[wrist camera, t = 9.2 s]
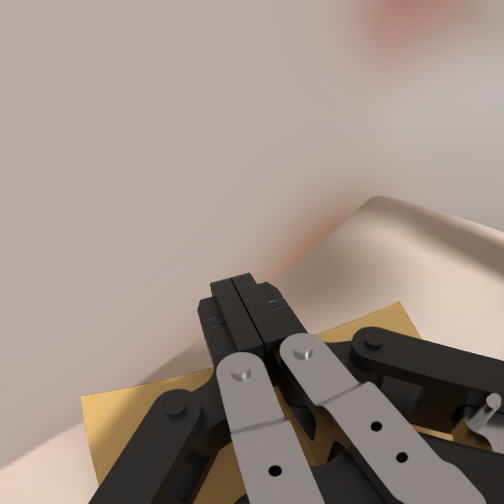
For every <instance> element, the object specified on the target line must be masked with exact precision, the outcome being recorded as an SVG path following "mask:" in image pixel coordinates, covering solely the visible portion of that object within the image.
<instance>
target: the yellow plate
mask: <svg viewBox="0 0 504 504" xmlns="http://www.w3.org/2000/svg"><path fill="white" fill-rule="evenodd" d="M370 326H374V327H380V328H383V329H387V330H390V331H394V332H397V333H401V334H404V335H408V336H411V337H415V338H418V339H421V337H420V335H419V334H418V332H417V330H416V328H415V327H414V325H413V323H412V322H411V320H410V318H409V317H408V315H407V313H406V312H405V310H404V308H403V307H402V305H401V303H400V302H397V303H395V304H392V305H390V306H388V307H385V308H383V309H380V310H378V311H376V312H373V313H371V314H368V315H366V316H363V317H361V318H359V319H356V320H353V321H351V322H348V323H346V324H343V325H341V326H338V327H335V328H333V329H330V330H327V331H325V332H322V333H319V334H316V335H315V336H317V337H319V338H320V339H321V340H322V341H323V342H342V341H351V340H352V338H353V335H354V334H355V333H356V332H357V331H358V330H359V329H361V328H364V327H370ZM213 371H214V367H213V368H209V369H205V370H202V371H198V372H194V373H190V374H186V375H182V376H178V377H174V378H170V379H166V380H162V381H157V382H153V383H148V384H144V385H139V386H134V387H130V388H125V389H120V390H115V391H110V392H104V393H98V394H92V395H87V396H81V403H82V409H83V415H84V421H85V427H86V432H87V437H88V442H89V447H90V452H91V456H92V460H93V464H94V468H95V472H96V476H97V480H98V484H99V486H100V485H101V483H102V482H103V480H104V479H105V477H106V476H107V474H108V472H109V471H110V469H111V468H112V466H113V465H114V463H115V462H116V460H117V458H118V457H119V455H120V454H121V452H122V451H123V449H124V448H125V446H126V445H127V443H128V441H129V440H130V438H131V437H132V435H133V434H134V432H135V431H136V429H137V428H138V426H139V424H140V423H141V421H142V420H143V418H144V417H145V415H146V414H147V412H148V411H149V409H150V407H151V406H152V404H153V403H154V401H155V400H156V399H157V398H158V397H159V396H160V395H161V394H162V393H164V392H166V391H169V390H172V389H185V390H188V391H191V392H192V391H194V390H196V389H198V388H199V387H201V386H202V385H204V384H205V383H206V382H207V381H208V380H209V379H210V378H211V376H212V374H213ZM273 389H274V392H275V394H276V397H277V399H278V402H279V404H280V407H281V410H282V412H283V414H284V416H285V418H288V419H289V421H290V422H291V424H292V427H293V429H294V431H295V434H296V436H297V439H298V441H299V443H300V446H301V448H302V451H303V453H304V456H305V458H306V460H307V463H308V465H309V467H312V466H317V464H316V463H315V461H314V459H313V456H312V453H311V449H310V447H309V445H308V443H307V442H306V440H305V439H304V437H303V435H302V434H301V432H300V431H299V429H298V428H297V426H296V425H295V423H294V421H293V420H292V418H291V417H290V415H289V414H288V412H287V410H286V409H285V407H284V405H283V403H282V394H281V392H280V390H279V388H278V386H276V387H273ZM410 425H411V426H412V427H413V428H414V429H415V431H417V432H422V433H425V434H429V435H432V436H435V437H439V438H442V439H446V440H449V441H452V440H453V437H452V435H450V434H446V433H442V432H438V431H434V430H430V429H426V428H423V427H419V426H415V425H412V424H410ZM246 493H247V492H246V488H245V485H244V481H243V478H242V475H241V471H240V468H239V464H238V460H237V457H236V453H235V450H234V446H233V442H231V443H230V444H228V445H227V446H225V447H224V448H222V449H221V450H219V452H218V455H217V457H216V459H215V461H214V463H213V465H212V467H211V469H210V471H209V473H208V475H207V477H206V479H205V481H204V483H203V485H202V487H201V489H200V491H199V493H198V495H197V497H196V499H195V501H194V503H193V504H234V503H235V502H236V501H237V500H238V499H239V498H240V497H242V496H243V495H244V494H246Z"/></svg>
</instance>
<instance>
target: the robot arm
mask: <svg viewBox="0 0 504 504" xmlns="http://www.w3.org/2000/svg"><path fill="white" fill-rule="evenodd" d="M210 287H211V292H212V296H213V297H210V298H206V299H202V300H200V303H199V306H198V315H199V318H200V322H201V326H202V330H203V334H204V337H205V341H206V344H207V347H208V350H209V353H210V356H211V359H212V362H213V365H214V371H213V374H212V376H211V378H210V379H209V380H208V381H207V382H206V383H205V384H204V385H202V386H201V387H199V388H198V389H196V390H194V391H192V392H191V391H188V390H185V389H172V390H169V391H166V392H164V393H162V394H161V395H160V396H159V397H158V398H157V399H156V400H155V401H154V403H153V404H152V406H151V407H150V409H149V411H148V412H147V414H146V415H145V417H144V418H143V420H142V421H141V423H140V424H139V426H138V428H137V429H136V431H135V432H134V434H133V435H132V437H131V438H130V440H129V441H128V443H127V445H126V446H125V448H124V449H123V451H122V452H121V454H120V455H119V457H118V458H117V460H116V462H115V463H114V465H113V466H112V468H111V469H110V471H109V472H108V474H107V476H106V477H105V479H104V480H103V482H102V483H101V485H100V486H99V488H98V489H97V491H96V493H95V494H94V496H93V497H92V499H91V500H90V502H89V503H88V504H193V503H194V501H195V499H196V497H197V495H198V493H199V491H200V489H201V487H202V485H203V483H204V481H205V479H206V477H207V475H208V473H209V471H210V469H211V467H212V465H213V463H214V461H215V459H216V457H217V455H218V452H219V450H221V449H222V448H224V447H225V446H227V445H228V444H230V443H231V442H233V446H234V450H235V453H236V457H237V460H238V464H239V468H240V471H241V475H242V478H243V481H244V485H245V488H246V492H247V493H246V494H244V495H243V496H242V497H240V498H239V499H238V500H237V501H236V502H235V503H234V504H504V361H502V360H498V359H494V358H490V357H486V356H482V355H478V354H474V353H471V352H467V351H463V350H459V349H455V348H452V347H448V346H444V345H440V344H437V343H433V342H429V341H426V340H422V339H418V338H415V337H411V336H408V335H404V334H401V333H397V332H394V331H390V330H387V329H383V328H380V327H374V326H370V327H364V328H361V329H359V330H358V331H357V332H356V333H355V334H354V335H353V338H352V340H351V341H342V342H323V341H322V340H321V339H320V338H319V337H317V336H315V335H313V334H309V333H308V332H307V331H306V329H305V328H304V327H303V325H302V324H301V322H300V321H299V319H298V318H297V316H296V315H295V314H294V312H293V311H292V309H291V308H290V306H288V303H287V302H286V300H285V299H283V296H282V295H281V293H280V292H279V290H278V289H277V288H276V287H274V286H273V285H271V284H269V283H268V282H264V283H261V284H257V283H256V282H255V280H254V279H253V277H252V276H251V274H250V273H246V274H243V275H239V276H235V277H231V278H228V279H224V280H220V281H216V282H212V283H210ZM276 386H278V388H279V390H280V392H281V394H282V403H283V405H284V407H285V409H286V410H287V412H288V414H289V415H290V417H291V418H292V420H293V421H294V423H295V425H296V426H297V428H298V429H299V431H300V432H301V434H302V435H303V437H304V439H305V440H306V442H307V443H308V445H309V447H310V449H311V453H312V456H313V459H314V461H315V463H316V464H317V466H312V467H309V465H308V463H307V460H306V458H305V456H304V453H303V451H302V448H301V446H300V443H299V441H298V439H297V436H296V434H295V431H294V429H293V427H292V424H291V422H290V421H289V419H288V418H285V416H284V414H283V412H282V410H281V407H280V404H279V402H278V399H277V397H276V394H275V392H274V389H273V387H276ZM410 424H412V425H415V426H419V427H423V428H426V429H430V430H434V431H438V432H442V433H446V434H450V435H452V437H453V440H452V441H449V440H446V439H442V438H439V437H435V436H432V435H429V434H425V433H422V432H417V431H415V429H414V428H413V427H412V426H411V425H410Z"/></svg>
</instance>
